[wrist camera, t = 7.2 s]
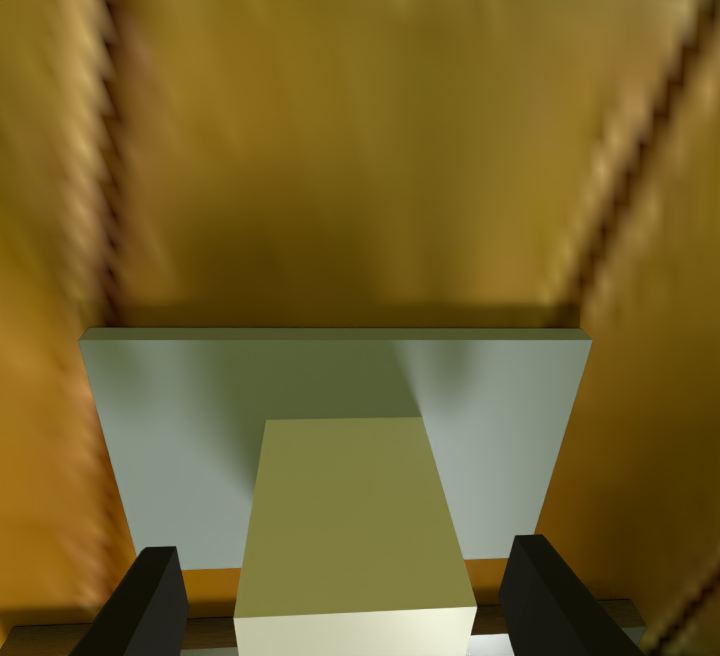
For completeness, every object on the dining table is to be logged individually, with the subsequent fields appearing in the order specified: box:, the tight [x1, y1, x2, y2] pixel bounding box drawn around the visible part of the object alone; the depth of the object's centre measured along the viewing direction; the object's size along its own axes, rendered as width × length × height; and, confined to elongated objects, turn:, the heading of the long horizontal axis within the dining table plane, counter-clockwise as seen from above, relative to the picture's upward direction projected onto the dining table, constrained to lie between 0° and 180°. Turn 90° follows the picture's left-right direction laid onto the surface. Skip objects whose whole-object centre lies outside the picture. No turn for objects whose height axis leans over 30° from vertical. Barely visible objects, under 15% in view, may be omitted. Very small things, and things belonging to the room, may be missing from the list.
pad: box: [78, 328, 593, 570], centre depth 13 cm, size 12×8×1 cm, turn 88°
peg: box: [233, 417, 477, 656], centre depth 11 cm, size 4×4×5 cm
